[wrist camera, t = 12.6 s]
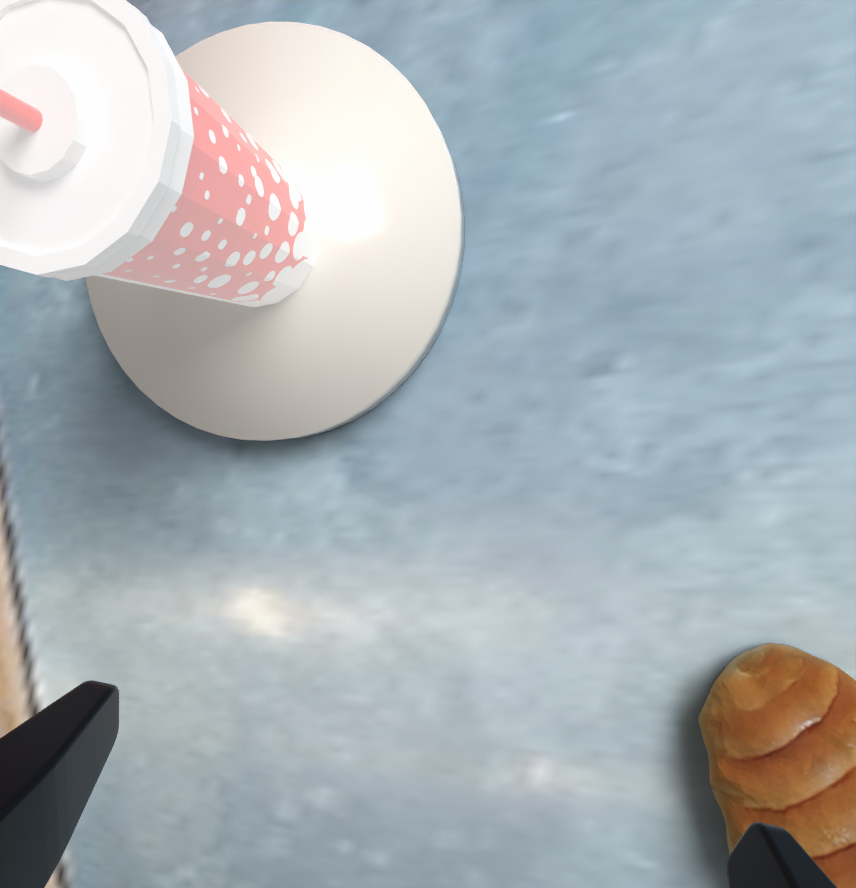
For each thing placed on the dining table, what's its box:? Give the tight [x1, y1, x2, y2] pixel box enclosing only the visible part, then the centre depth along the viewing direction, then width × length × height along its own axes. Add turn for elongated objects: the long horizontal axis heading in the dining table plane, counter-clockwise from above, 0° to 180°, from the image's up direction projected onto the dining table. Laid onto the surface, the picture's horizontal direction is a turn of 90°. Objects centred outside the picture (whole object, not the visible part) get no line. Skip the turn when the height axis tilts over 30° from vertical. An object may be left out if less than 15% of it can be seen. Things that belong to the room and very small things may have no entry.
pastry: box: [698, 643, 856, 888], centre depth 18 cm, size 9×7×4 cm
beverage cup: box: [0, 0, 320, 307], centre depth 15 cm, size 6×6×14 cm
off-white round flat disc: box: [86, 22, 465, 441], centre depth 23 cm, size 14×14×1 cm
